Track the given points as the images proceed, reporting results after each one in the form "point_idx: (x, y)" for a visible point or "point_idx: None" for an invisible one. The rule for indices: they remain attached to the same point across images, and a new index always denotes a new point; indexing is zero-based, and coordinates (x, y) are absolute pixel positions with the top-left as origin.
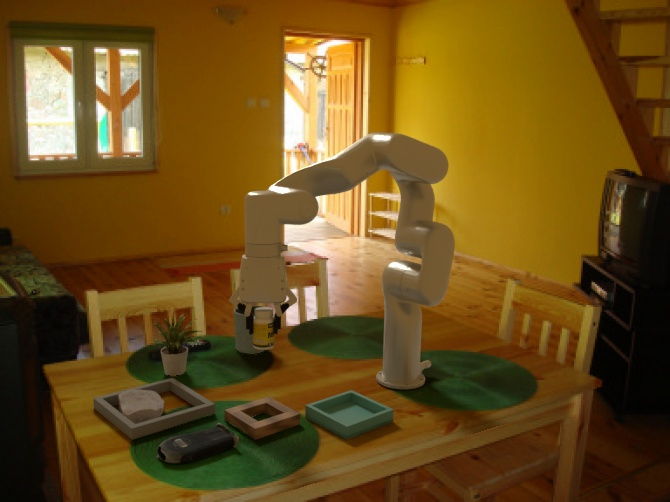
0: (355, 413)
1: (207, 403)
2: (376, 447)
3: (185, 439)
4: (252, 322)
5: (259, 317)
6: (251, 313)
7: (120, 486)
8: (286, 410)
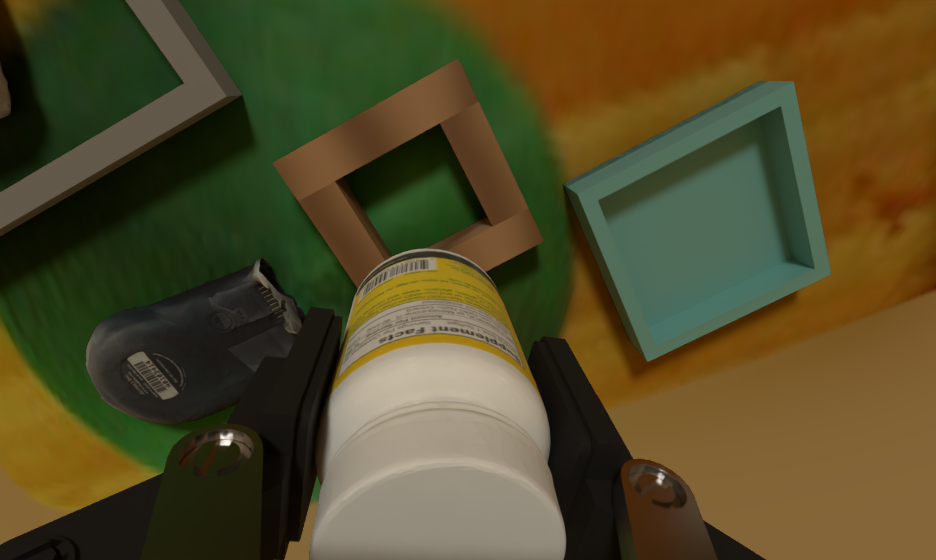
0: (722, 209)
1: (192, 83)
2: (683, 383)
3: (162, 358)
4: (313, 478)
5: None
6: (277, 554)
7: (50, 479)
8: (503, 208)
